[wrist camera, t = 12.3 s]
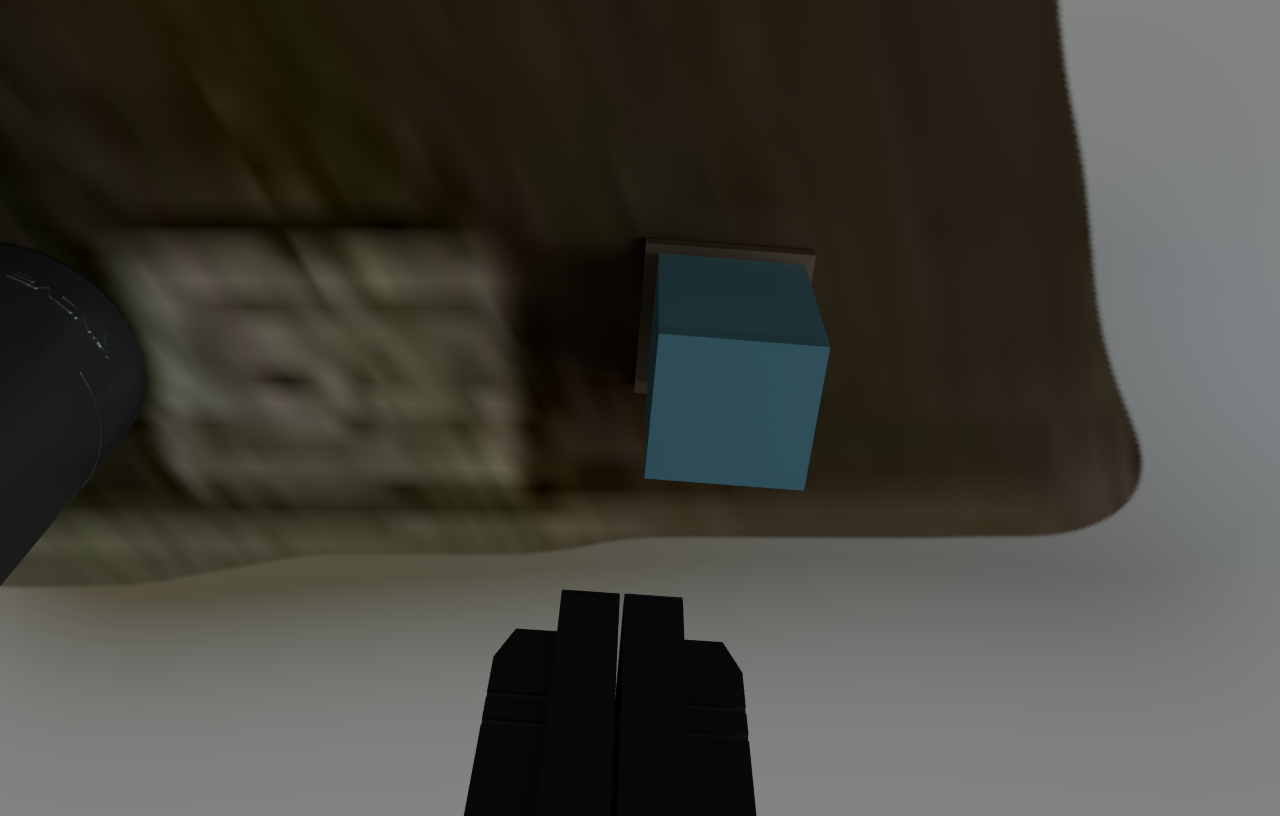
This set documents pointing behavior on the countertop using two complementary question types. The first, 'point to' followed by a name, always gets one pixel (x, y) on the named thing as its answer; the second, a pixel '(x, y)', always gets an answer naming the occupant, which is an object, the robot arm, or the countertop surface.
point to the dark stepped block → (703, 250)
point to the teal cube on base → (733, 372)
